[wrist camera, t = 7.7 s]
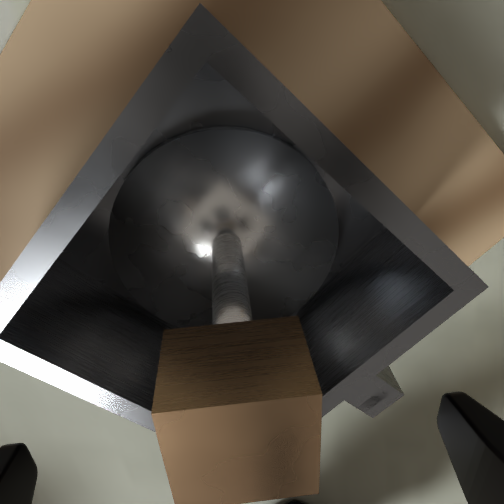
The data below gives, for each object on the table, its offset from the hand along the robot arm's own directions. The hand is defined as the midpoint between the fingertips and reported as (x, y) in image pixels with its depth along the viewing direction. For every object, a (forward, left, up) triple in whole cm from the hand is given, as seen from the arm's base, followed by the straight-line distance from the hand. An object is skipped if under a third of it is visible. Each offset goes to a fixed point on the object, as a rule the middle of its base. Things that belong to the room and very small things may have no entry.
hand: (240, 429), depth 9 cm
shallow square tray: (-1, 0, -10) cm, 10 cm away
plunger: (0, 0, -9) cm, 9 cm away
